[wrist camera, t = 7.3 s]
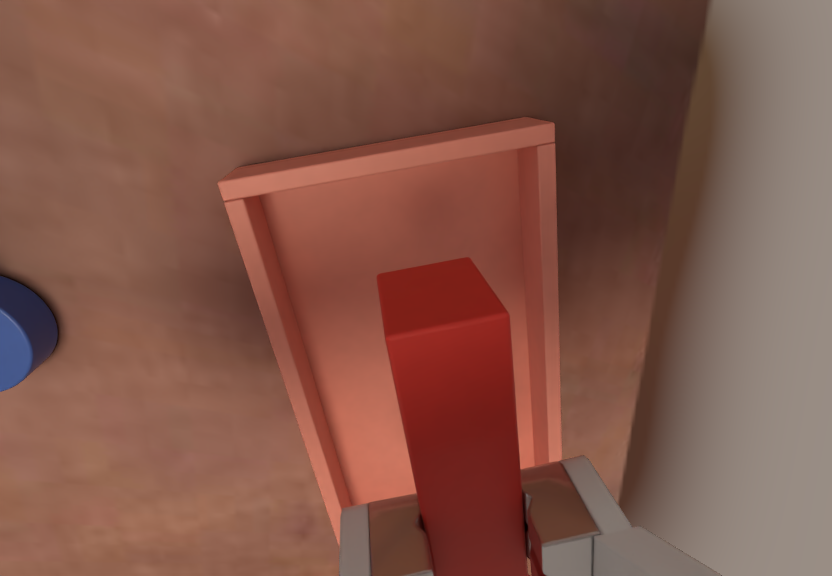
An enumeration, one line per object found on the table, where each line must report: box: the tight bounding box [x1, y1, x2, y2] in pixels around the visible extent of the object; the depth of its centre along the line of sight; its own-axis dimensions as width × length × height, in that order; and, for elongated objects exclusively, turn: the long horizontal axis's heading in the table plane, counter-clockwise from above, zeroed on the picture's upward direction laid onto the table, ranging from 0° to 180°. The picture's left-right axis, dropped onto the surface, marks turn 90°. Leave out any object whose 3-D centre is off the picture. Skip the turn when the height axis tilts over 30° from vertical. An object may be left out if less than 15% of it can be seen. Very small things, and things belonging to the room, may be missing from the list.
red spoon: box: [376, 257, 530, 576], centre depth 10 cm, size 13×4×2 cm, turn 8°
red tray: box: [218, 117, 562, 547], centre depth 18 cm, size 17×10×2 cm, turn 8°
